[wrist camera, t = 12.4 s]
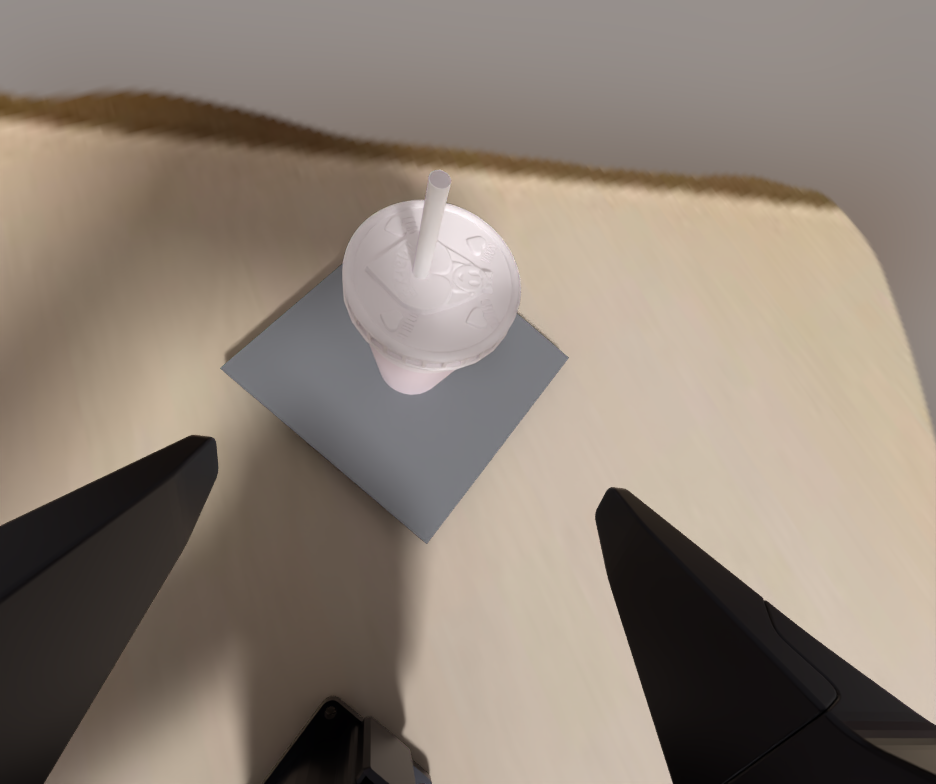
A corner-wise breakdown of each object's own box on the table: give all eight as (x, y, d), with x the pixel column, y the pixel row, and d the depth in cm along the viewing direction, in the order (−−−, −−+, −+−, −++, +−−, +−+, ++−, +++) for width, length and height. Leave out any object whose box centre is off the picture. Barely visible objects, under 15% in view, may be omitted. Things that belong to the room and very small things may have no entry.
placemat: (424, 542, 22) (426, 544, 21) (226, 373, 22) (219, 368, 21) (561, 362, 26) (568, 357, 26) (399, 223, 26) (400, 213, 25)
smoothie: (357, 307, 23) (335, 54, 10) (466, 317, 25) (573, 106, 11) (349, 416, 22) (311, 287, 8) (466, 420, 23) (592, 315, 10)
